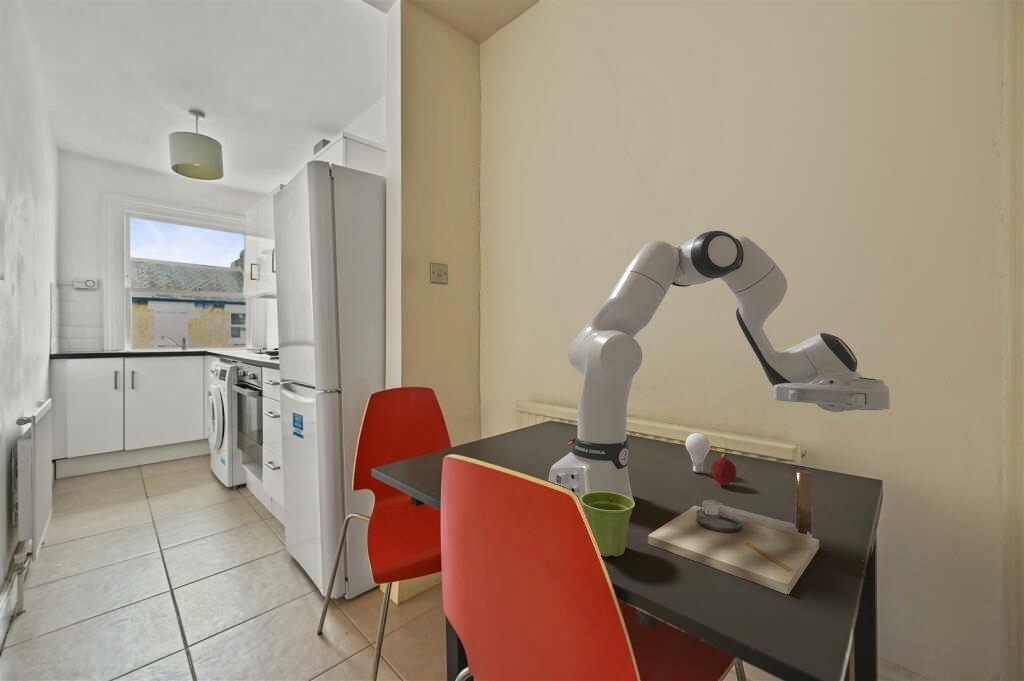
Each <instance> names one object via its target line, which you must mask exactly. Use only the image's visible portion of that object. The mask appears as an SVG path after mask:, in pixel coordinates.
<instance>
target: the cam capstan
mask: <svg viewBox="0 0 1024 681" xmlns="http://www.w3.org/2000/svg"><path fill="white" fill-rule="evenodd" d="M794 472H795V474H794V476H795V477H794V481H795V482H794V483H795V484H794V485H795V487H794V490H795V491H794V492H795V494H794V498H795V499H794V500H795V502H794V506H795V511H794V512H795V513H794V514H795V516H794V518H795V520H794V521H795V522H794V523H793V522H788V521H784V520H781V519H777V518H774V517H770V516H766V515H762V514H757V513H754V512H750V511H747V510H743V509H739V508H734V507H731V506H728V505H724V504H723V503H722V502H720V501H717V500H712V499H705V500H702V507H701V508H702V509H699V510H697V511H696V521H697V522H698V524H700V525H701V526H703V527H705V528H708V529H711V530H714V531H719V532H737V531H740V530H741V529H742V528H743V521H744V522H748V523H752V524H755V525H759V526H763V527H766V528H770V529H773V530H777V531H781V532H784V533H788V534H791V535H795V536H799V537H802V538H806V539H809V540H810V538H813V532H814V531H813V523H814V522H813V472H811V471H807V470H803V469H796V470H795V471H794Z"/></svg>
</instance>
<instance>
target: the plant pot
mask: <svg viewBox="0 0 1024 681" xmlns="http://www.w3.org/2000/svg"><path fill="white" fill-rule="evenodd" d="M580 502H581V504H582V505H583V509H584V511H583V512H584V515H586V516H585V519H586V518H587V520H588V523H589V525H590V527H591V530H592V532H593V535H594V537H595V539H596V542H597V544H598V546H599V549H600V552H601V555H602V556H601V557H606V558H608V557H611V556H613V557H615V558H616V557H620V556H622V555H624V553H625V551H626V545H627V539H628V532H629V527H630V526H629V525H630V520H631V519H630V518H631V516H632V513H633V509H634V508H635V506H636V502H635V500H632V499H631V498H629V497H627V496H625V495H622V494H618V493H614V492H590V493H586V494H584V495H582V496H581V498H580Z"/></svg>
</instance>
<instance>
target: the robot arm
mask: <svg viewBox="0 0 1024 681" xmlns="http://www.w3.org/2000/svg"><path fill="white" fill-rule="evenodd" d="M716 279H720V280H722V281H723V282H725V284H726V286H727V287H728V288H729V289H730V290H731V292H732V293H733V294H734V296H735V298H736V300H737V302H738V306H737V308H736V310H735V316H736V320H737V323H738V325H739V326H740V328H741V331H742V333H743V335H744V337H745V338H746V340H747V342H748V343H749V345H750V347H751V349H752V350H753V352H754V354H755V356H756V357H757V359H758V361H759V363H760V365H761V367H762V369H763V371H764V373H765V376H766V378H767V379H768V382H769V383H770V384H771V385H772V386H773V398H774V400H775V401H779V402H788V403H791V402H792V403H803V404H813V405H816V406H818V407H819V408H821V409H822V410H824V411H827V412H832V413H840V412H842V413H843V412H850V411H851V412H852V411H859V410H860V411H883V410H889V409H890V389H889V387H888V386H887V385H886V384H885V381H884V380H883V379H876V378H868V377H864V376H862V374H861V373H859V372H858V371H857V369H858V360H857V357H856V356H855V354H854V352H853V350H852V349H851V348H850V346H848V344H846V342H845V341H844V340H843V339H842V338H839V337H838V336H836V335H833V334H829V333H826V332H820V333H818V334H815V335H814V336H811V337H809V338H807V339H805V340H803V341H802V342H800V343H797V344H795V345H793V346H791V347H789V348H787V349H785V350H782V351H778V350H775V349H774V346H773V345H772V343H771V341H770V340H769V338H768V336H767V334H766V332H765V331H764V329H763V326H764V323H765V322H766V320H767V319H768V318H769V316H770V315H772V313H773V312H775V310H776V309H777V308H778V307H779V305H780V304H781V303H782V302H783V300H784V297H785V296H786V293H787V288H788V282H787V278H786V276H785V274H784V272H783V271H782V270H781V269H780V267H779V266H778V264H777V263H776V262H775V261H774V260H773V259H772V257H771V256H769V254H768V253H767V252H766V251H764V249H763V248H761V247H760V246H759V245H758V244H756V243H755V242H754V241H752V239H750V238H748V237H747V236H743V235H737V236H734V235H732V234H730V233H728V232H725V231H724V230H711V231H710V230H709V231H706V232H703V233H702V234H701V233H700V235H696V236H694V237H691V238H690V237H689V238H688V239H685V240H684V241H682V242H680V243H679V244H677V245H676V246H673V245H672V244H670V243H669V242H666V241H663V240H651V241H648V242H647V243H645V244H644V245H643V246H642V247H641V248H640V249H639V251H637V253H636V254H635V255H634V256H633V257H632V259H631V260H630V262H629V263H628V264H627V266H626V267H625V268H624V271H623V272H622V274H621V276H620V277H619V278H618V280H617V281H616V283H615V285H614V286H613V289H612V290H611V292H610V293H609V295H608V297H607V298H606V299H605V300H604V302H603V303H602V304H601V306H600V307H599V309H597V311H595V313H594V314H593V316H591V318H590V319H589V320H588V321H587V323H586V325H585V326H584V327H583V329H582V330H581V331H580V333H579V334H578V335H576V336H575V338H573V340H572V341H571V342H570V343H569V346H568V350H567V357H568V360H569V362H570V364H571V365H572V367H573V368H574V369H575V370H576V371H577V372H579V373H580V374H582V375H584V383H583V386H582V387H583V388H582V392H581V395H580V398H579V400H578V402H577V408H576V409H577V411H576V412H577V414H576V415H577V422H576V423H577V436H575V437H574V438H572V439H569V440H567V441H568V443H567V445H568V446H572V447H571V450H570V452H568V454H566V455H565V456H563V457H561V459H559V460H558V461H556V462H555V463H554V464H552V466H551V467H550V471H549V474H548V481H550V482H553V483H555V484H558V485H561V486H564V487H566V488H568V489H570V490H572V491H573V492H574V493H575V494H576V495H577V496H578V498H579V500H580V498H581V496H582V495H584V494H586V493H590V492H614V493H618V494H622V495H625V496H627V497H629V498H631V499H632V500H634V497H633V493H632V489H631V485H630V483H631V482H630V479H629V478H630V477H629V470H628V465H629V457H630V456H629V452H630V451H629V440H628V438H627V417H628V416H627V414H628V413H627V412H628V411H627V408H628V401H629V395H630V391H631V387H632V383H633V378H634V376H635V375H636V373H637V372H638V371H639V370H640V368H641V366H642V362H643V351H642V348H641V345H640V343H639V342H638V341H637V339H636V338H635V336H637V334H638V333H640V331H641V330H643V329H644V328H646V327H647V326H648V324H649V323H650V322H651V321H652V319H653V317H654V315H655V314H656V312H657V310H658V308H659V306H660V305H661V303H662V302H663V300H664V298H665V296H666V295H667V293H668V291H669V290H670V287H671V286H674V287H680V288H681V287H682V288H683V287H684V288H685V287H690V286H693V285H701V284H705V283H708V282H711V281H713V280H716ZM811 382H812V383H811ZM634 501H635V500H634ZM582 506H583V505H582Z"/></svg>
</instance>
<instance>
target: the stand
mask: <svg viewBox="0 0 1024 681" xmlns="http://www.w3.org/2000/svg"><path fill="white" fill-rule="evenodd" d="M699 509H702V507H701V506H697V505H694V506H692V507H691V508H688V509H687V510H686V511H684V512H682V513H680V514H679V515H678V516H676V517H674V518H673V519H672V520H669V522H667V523H665V524H664V525H662V526H660V527H659V528H657V529H656V530H654V531H653V532H651V533H649V534H648V535H647V545H650V546H653V547H656V548H659V549H662V550H664V551H666V552H670V553H671V554H672V553H673V554H675V555H678V556H680V557H683V558H686V559H688V560H692V561H695V562H697V563H700V564H702V565H705V566H708V567H711V568H713V569H716V570H719V571H722V572H723V573H727V574H730V575H733V576H736V577H738V578H741V579H744V580H746V581H748V582H752V583H754V584H757V585H760V586H763V587H766V588H768V589H770V590H771V589H772V590H774V591H777V592H780V593H781V594H784V595H787V594H788V595H790V593H791V591H792V590H793V588H794V586H796V584H797V582H798V581H799V579H800V578H801V576H802V575H803V573H804V571H805V570H806V568H807V567H808V566H809V564H810V563H811V562H812V559H813V558H814V557H815V555H816V554H817V552H818V551H819V549H820V539H817V538H814V537H811V538H810V540H809V539H806V538H802V537H799V536H795V535H791V534H788V533H784V532H781V531H777V530H773V529H770V528H766V527H763V526H759V525H755V524H752V523H748V522H744V521H743V528H742V529H741V530H740V531H737V532H719V531H714V530H711V529H708V528H705V527H703V526H701V525H700V524H698V522H697V521H696V511H697V510H699Z"/></svg>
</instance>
